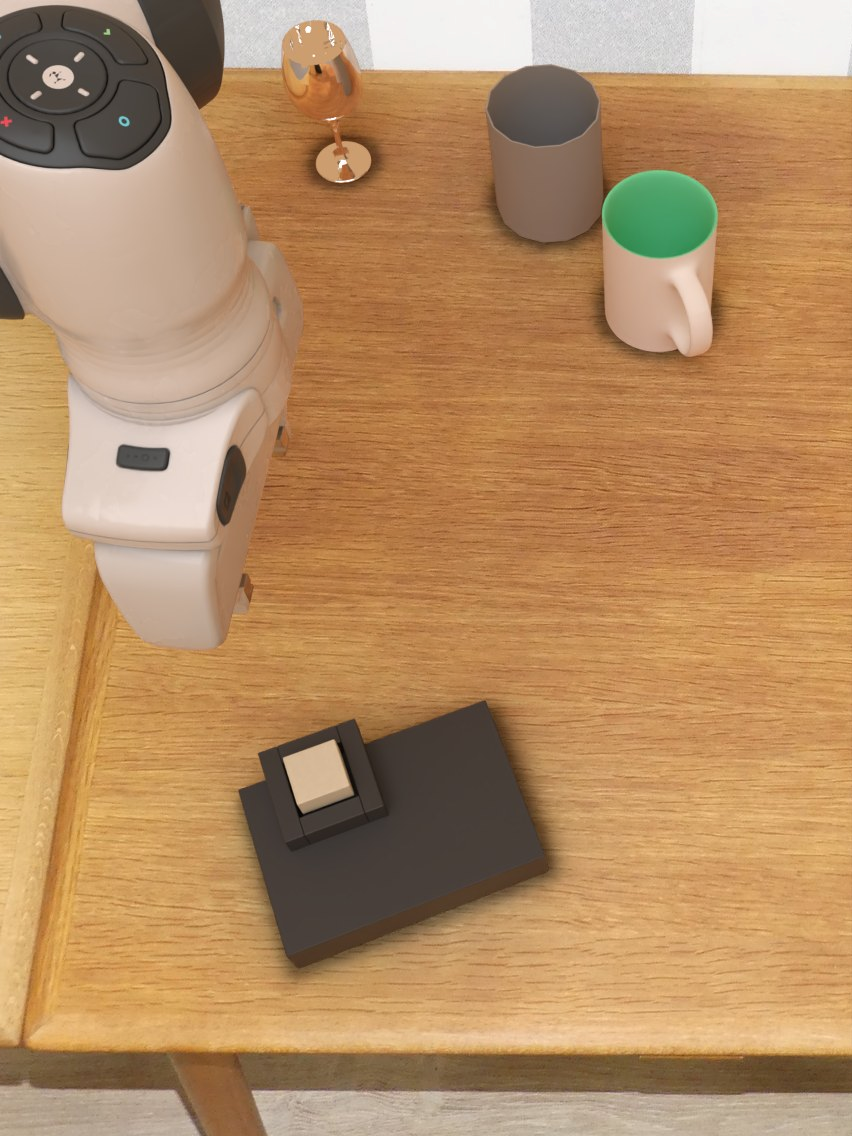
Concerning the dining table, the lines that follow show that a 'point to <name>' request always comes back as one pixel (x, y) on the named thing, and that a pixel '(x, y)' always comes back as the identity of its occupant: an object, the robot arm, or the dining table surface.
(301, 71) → the wineglass
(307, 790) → the square button
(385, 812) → the button panel
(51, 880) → the dining table surface
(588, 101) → the cup
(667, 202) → the mug
